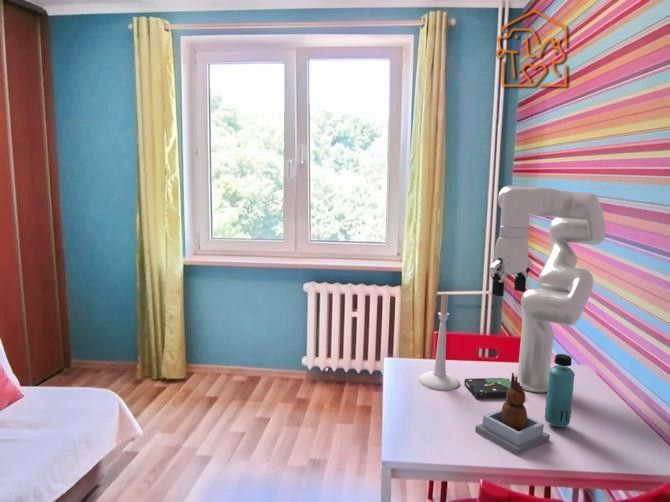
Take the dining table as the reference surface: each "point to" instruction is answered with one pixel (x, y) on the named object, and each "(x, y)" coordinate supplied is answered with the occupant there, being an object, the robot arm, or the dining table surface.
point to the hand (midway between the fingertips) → (508, 293)
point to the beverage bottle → (560, 392)
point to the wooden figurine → (514, 406)
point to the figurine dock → (512, 433)
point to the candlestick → (440, 357)
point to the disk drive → (488, 387)
